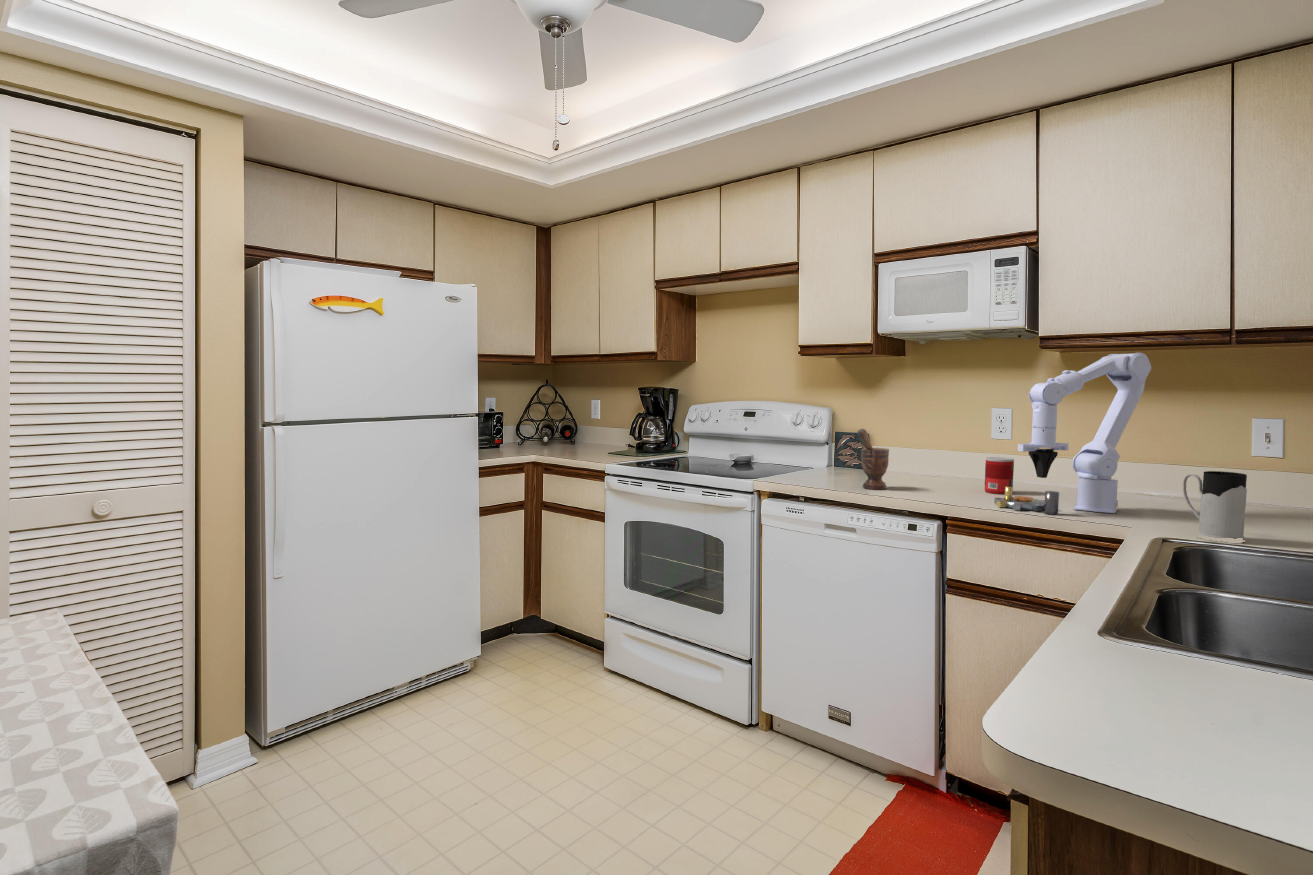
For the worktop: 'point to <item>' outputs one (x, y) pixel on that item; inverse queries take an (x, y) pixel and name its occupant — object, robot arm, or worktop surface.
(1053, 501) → the roller
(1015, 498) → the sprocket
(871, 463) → the mortar and pestle
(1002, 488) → the canned food
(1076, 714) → the worktop surface
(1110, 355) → the robot arm
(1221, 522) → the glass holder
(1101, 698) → the worktop surface
